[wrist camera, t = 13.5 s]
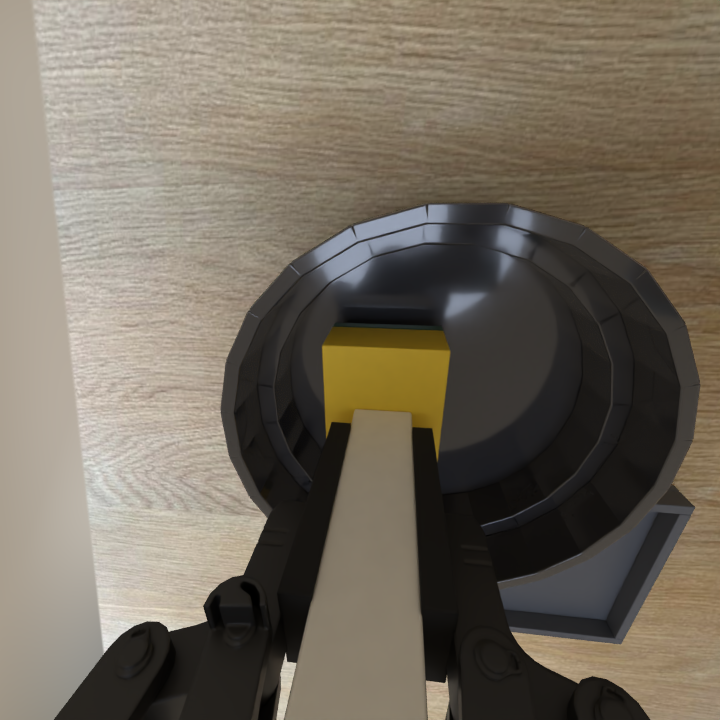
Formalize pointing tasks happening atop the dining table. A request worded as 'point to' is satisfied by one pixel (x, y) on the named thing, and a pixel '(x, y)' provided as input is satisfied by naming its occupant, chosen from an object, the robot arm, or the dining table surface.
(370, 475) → the sponge brush
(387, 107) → the dining table surface
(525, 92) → the dining table surface
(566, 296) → the bowl
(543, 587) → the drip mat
